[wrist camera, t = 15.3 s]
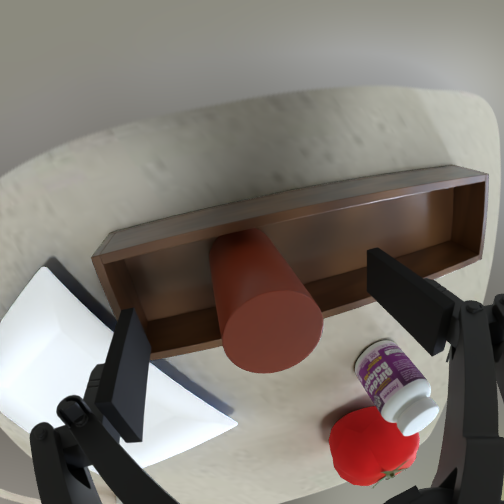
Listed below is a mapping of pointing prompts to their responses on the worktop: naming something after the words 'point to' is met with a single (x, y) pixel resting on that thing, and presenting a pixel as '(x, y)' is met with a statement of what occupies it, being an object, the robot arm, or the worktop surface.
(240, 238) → the spice tin
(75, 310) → the plate
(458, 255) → the wooden tray
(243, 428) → the worktop surface
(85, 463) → the robot arm
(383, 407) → the pill bottle
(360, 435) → the tomato
